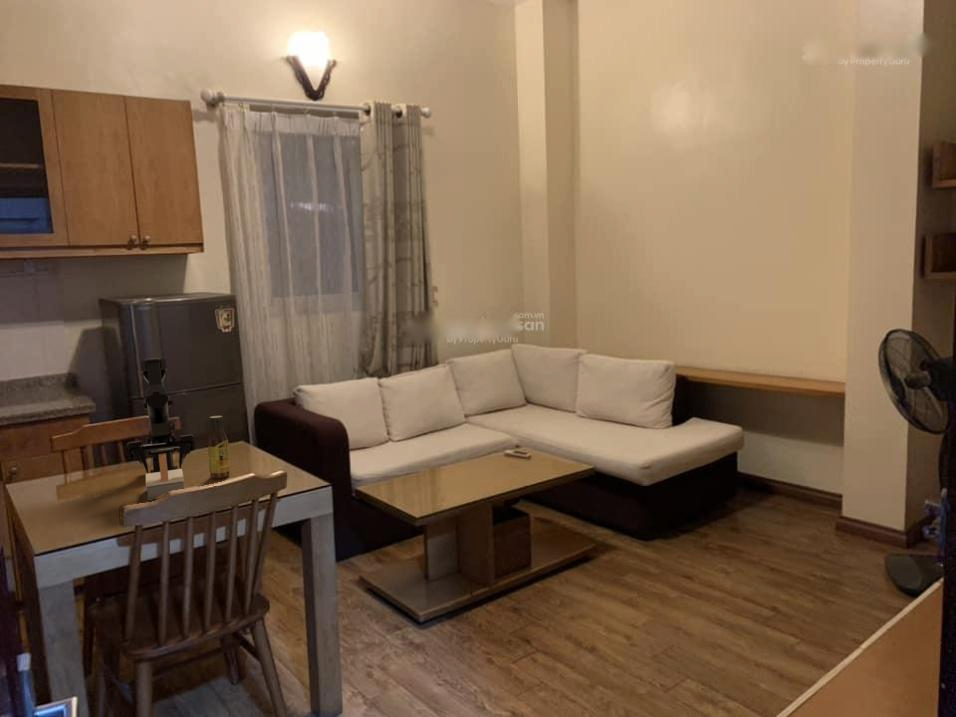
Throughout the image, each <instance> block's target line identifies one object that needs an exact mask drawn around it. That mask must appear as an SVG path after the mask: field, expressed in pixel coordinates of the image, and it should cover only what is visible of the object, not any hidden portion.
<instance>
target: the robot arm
mask: <svg viewBox="0 0 956 717" xmlns="http://www.w3.org/2000/svg"><path fill="white" fill-rule="evenodd" d="M167 364H168V363H167V359H164V358H163V357H151V358H143V360H140V361H139V368H140V373H141V374H143V375H142V376H143V379H144V380H145V382H146V383H147V384H148V388H147V389H146V390H145V398H143V407H144V410H147V414H148V424H149V426H148V427H149V431H148V437H147V438H146V439H147V443H146V444H143V443H142V440H138V441H137V440H135V441H130V442H129V441H128V443H126V449H127V455H128V459H129V460H134V461H135V462H136V461H137V462H138V463H139V464H141V466H142V468H143V469H144V471H145V474H149V473H156V472H160V464H159V454H165V453H166V460H167V470H168V471H170V470H176V468H179V469H182V466H183V463H184V460H185V459H186V456H187V455H189V454H190V453H191V452H193V451H195V450H196V447H195V446H196V442H195V436H194V435H193V434H185V435H180V436H179V438H180V439H179V440H177V437H176V436H175V434H173V432H174V433H175V432H176V421H175V419H172V420H170V417H169V416H170V415H169V407H172V405H174V404H173V402H174V401H173V398H171V397H170V396H171V395H168V392H167V388H165V387H164V386H163V381H164V379H165V378H166V371H168V365H167ZM178 448H179V453H178V454H179V456H178V465H179V466H178V465H174V456H173V453H176V452H177V451H178ZM145 452H148V455H149V456H152V460H151V461H152V468H153V469H151V470H149V468H148V467H149V466H148V463H147V458H146V455H145Z"/></svg>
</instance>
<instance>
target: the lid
mask: <svg viewBox="0 0 956 717" xmlns="http://www.w3.org/2000/svg"><path fill="white" fill-rule="evenodd" d="M159 464H160V472H148V473H145V487H146V488H147V487H149V486H156V485H162V484H169V483H176V482H182V481H183V482H185V478H184V472H183V469H182V468H181V469H180V468H179V469H173V470H170V471H168V470H167V460H166V453H165V454H159Z"/></svg>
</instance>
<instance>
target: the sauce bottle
mask: <svg viewBox="0 0 956 717" xmlns="http://www.w3.org/2000/svg"><path fill="white" fill-rule="evenodd" d="M223 421H224V417H223V415H213V416H209V422H210V433H209V435H208V436H207V451H208V452H207V453H208V467H209V473H210V477H211V479H222V478H227V477H229V475H230V473H231V472H230V471H231V466H230V465H231V464H230V455H229V454H230V453H229V440H228V437H227V435H226V433H225V431H224V426H223V424H224V423H223Z"/></svg>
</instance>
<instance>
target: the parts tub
mask: <svg viewBox="0 0 956 717" xmlns="http://www.w3.org/2000/svg"><path fill="white" fill-rule="evenodd" d="M178 489H184V490H185V485H184V481H182V482H176V483H169V484H162V485H156V486H149V487H146V490H147V491H146V494H147V501H148V500H150V501H153V500H152V499H156V498H157V497H159V496H161V495H162V494H164V493H167V492H169V491H172V490H178ZM156 500H157V499H156Z"/></svg>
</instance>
